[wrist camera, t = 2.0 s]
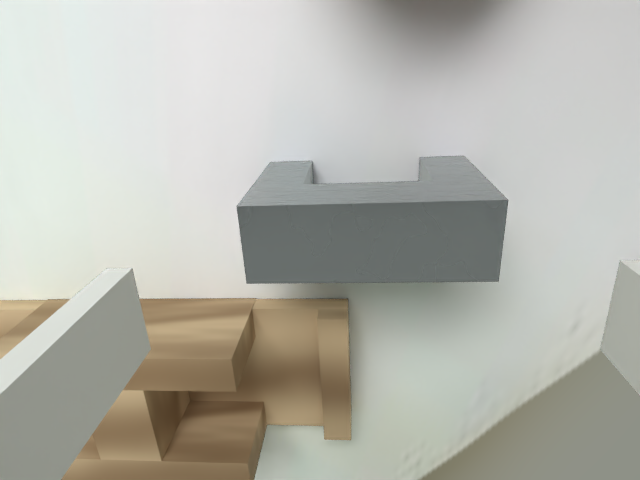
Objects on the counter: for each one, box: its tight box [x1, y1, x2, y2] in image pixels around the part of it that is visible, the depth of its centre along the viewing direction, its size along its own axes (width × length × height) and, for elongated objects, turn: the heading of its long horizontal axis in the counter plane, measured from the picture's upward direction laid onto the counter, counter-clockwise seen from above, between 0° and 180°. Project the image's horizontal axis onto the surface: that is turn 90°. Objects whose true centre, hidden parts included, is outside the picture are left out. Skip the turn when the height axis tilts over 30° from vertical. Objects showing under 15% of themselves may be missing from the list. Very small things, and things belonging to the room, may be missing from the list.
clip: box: [237, 156, 508, 284], centre depth 18 cm, size 3×9×6 cm, turn 93°
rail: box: [0, 298, 351, 480], centre depth 24 cm, size 8×22×5 cm, turn 93°
